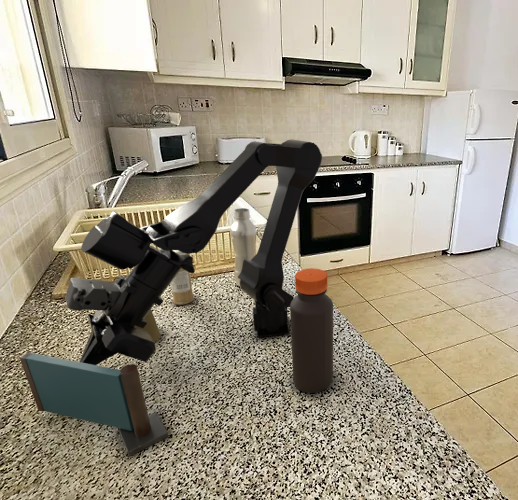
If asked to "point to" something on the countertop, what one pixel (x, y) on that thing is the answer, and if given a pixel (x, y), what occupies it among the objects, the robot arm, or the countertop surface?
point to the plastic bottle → (242, 239)
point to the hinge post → (139, 415)
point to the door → (77, 390)
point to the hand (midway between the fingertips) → (81, 369)
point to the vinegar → (312, 332)
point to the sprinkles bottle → (182, 286)
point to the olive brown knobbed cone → (151, 327)
